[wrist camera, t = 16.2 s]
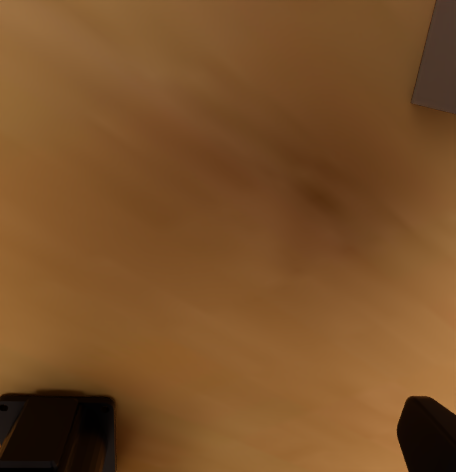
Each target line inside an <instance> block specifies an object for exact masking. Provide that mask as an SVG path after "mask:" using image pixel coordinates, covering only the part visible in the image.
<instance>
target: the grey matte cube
mask: <svg viewBox="0 0 456 472" xmlns="http://www.w3.org/2000/svg"><path fill="white" fill-rule="evenodd" d="M411 103H413V104H417V105H421V106H425V107H429V108H433V109H437V110H441V111H445V112H449V113H453V114H456V0H436V4H435V8H434V12H433V16H432V20H431V24H430V28H429V32H428V36H427V40H426V45H425V49H424V53H423V57H422V61H421V65H420V69H419V73H418V77H417V81H416V85H415V89H414V93H413V97H412V101H411Z"/></svg>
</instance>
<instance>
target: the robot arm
mask: <svg viewBox="0 0 456 472" xmlns="http://www.w3.org/2000/svg"><path fill="white" fill-rule="evenodd" d="M5 405H6V406H5ZM103 406H106V407H103ZM397 437H398V441H399V444H400V447H401V450H402V453H403V456H404V459H405V462H406V465H407V468H408V471H409V472H456V415H455V414H454V413H452V412H451V411H449V410H448V409H447V408H445V407H444V406H442V405H441V404H440V403H438V402H437V401H435V400H434V399H432V398H430V397H427V396H410V397H409V398H408V399H407V400H406V402H405V405H404V408H403V411H402V413H401V416H400V419H399V422H398V425H397ZM0 444H1V447H0V472H116V425H115V402H114V401H113V400H112V399H110V398H102V397H49V396H1V397H0Z"/></svg>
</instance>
